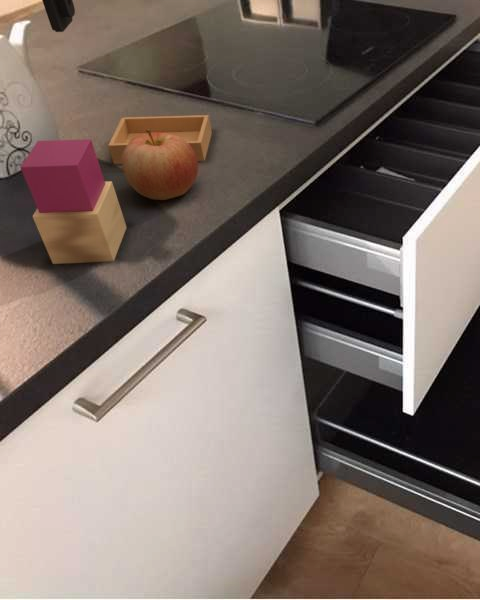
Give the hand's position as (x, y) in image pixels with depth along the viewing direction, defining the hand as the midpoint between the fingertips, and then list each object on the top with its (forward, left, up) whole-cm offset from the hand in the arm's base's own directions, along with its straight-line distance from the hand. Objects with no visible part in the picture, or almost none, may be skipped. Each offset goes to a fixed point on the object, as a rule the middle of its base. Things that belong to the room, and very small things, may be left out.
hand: (2, 27), depth 53 cm
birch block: (0, +1, -23) cm, 23 cm away
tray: (+4, +21, -23) cm, 31 cm away
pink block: (0, +1, -17) cm, 17 cm away
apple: (+6, +11, -23) cm, 26 cm away
